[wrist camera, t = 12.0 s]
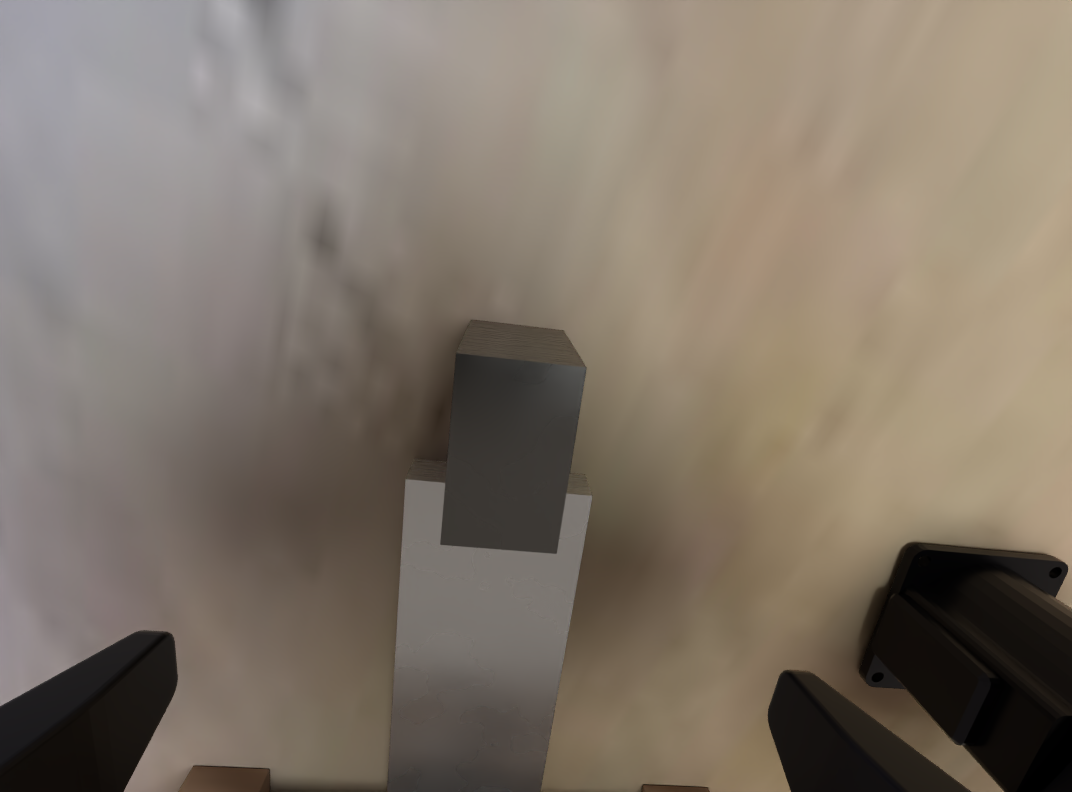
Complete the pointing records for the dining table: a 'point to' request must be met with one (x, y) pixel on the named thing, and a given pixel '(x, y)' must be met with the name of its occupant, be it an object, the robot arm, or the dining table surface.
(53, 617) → the dining table surface
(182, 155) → the dining table surface
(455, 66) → the dining table surface
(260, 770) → the wooden footstool
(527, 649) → the blade tool
